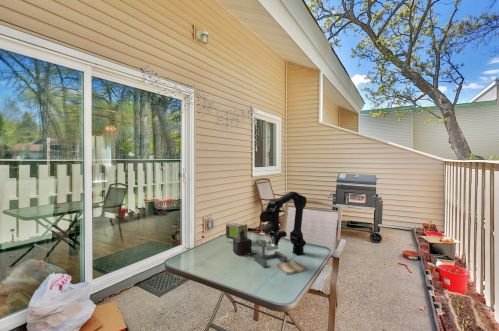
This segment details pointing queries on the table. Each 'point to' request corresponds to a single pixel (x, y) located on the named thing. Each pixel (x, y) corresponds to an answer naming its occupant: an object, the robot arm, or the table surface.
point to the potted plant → (242, 244)
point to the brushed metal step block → (272, 245)
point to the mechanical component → (262, 245)
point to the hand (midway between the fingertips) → (274, 244)
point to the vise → (262, 259)
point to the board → (291, 267)
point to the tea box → (234, 230)
